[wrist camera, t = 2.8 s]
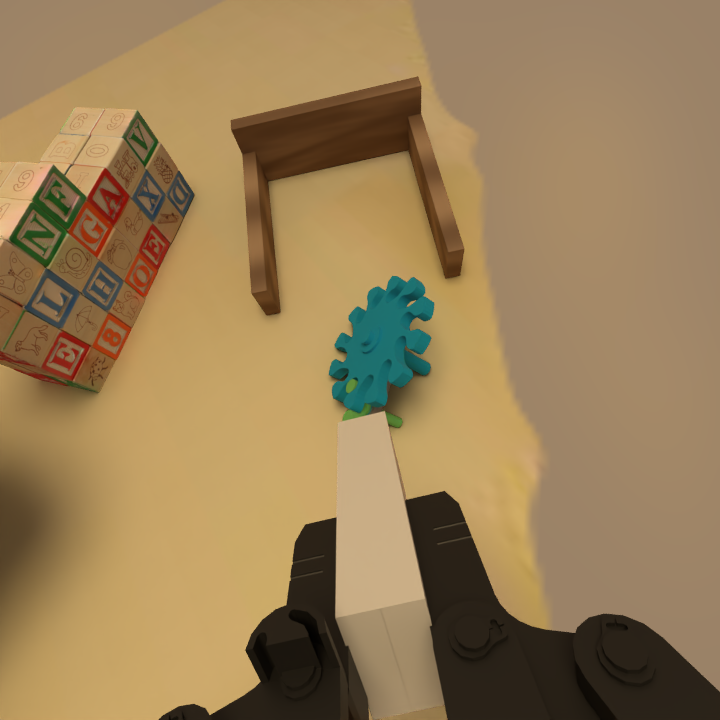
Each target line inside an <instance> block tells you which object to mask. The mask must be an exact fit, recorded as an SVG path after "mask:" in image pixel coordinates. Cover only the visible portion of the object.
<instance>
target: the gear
mask: <svg viewBox="0 0 720 720" xmlns="http://www.w3.org/2000/svg"><path fill="white" fill-rule="evenodd" d="M424 294H425V287H424V285H423V284H422V283H421V282H420V281H418V280H417V279H415V278H414V277H412V278H411V279H410V280H409V281H408V282H405V281H404V280H402V279H401V278H399V277H397V276H392V277H391V279H390V280H389V282H388V285H387V289H386V291H385V290H383V289H382V288H380V287H379V286H378V287H375V288H373V289H371V290H370V291H369V293H368V296H367V299H368V305H367V310H366V311H365V310H363V309H361V308H360V307H358V306H357V307H356V308H355V309H354V310H353V311H352V312H351V314H350V315H349V321H350V322H351V323H352V324H353V336H352V337H350V336H348V335H347V334H345V333H341V334H340V336H339V337H338V339H337V341H336V343H335V347H336V348H337V349H339V350H341V351H343V352H347V358H346V360H345V361H344V362H341V361H339V360H337V359H335V360H333V361H332V363H331V366H330V370H329V375H330V376H332V377H334V378H337V379H341V378H342V377H344V376H345V375H346V374H348V376H347V378H346V379H345V380H344V381H343V382H341V381H337V382H336V383H335V384H334V385H333V387H332V395H333V398H334V399H336V400H338V401H341V402H343V403H344V405H345V407H347V408H348V409H350V410H347V411H346V412H345V414H344V416H343V421H345V420H350V419H354V418H358V417H362V416H366V415H370V414H375V413H379V412H383V411H384V410H382V409H383V406H385V404H386V402H387V398H388V396H387V395H388V392H389V389H390V386H391V384H393V385H395V386H397V387H399V388H401V387H403V386H404V385H406V384H407V383H408V382H409V381H410V380H411V379H412V378H413V372H412V370H414V371H416V372H418V373H419V374H421V375H426V374H428V373H429V371H430V368H431V365H430V364H429V363H428V362H426V361H424V360H422V359H421V358H419V357H417V356H415V355H414V354H412V353H410V352H408V351H406V350H405V346H406V345H407V348H408V349H410V350H412V351H414V352H416V353H417V354H420V355H421V354H423V353H424V351H425V350H426V348H427V347H428V345H429V343H430V340H431V336H430V335H428V334H426V333H425V332H423V331H421V330H420V329H416V330H412V331H410V329H409V327H410V324H411V322H412V320H413V319H415V318H416V317H418V318H419V319H421V320H423V321H428V320H430V319H431V318H432V315H433V311H434V302H432V301H431V300H429V299H428V298H426V297H424V296H423V295H424ZM422 296H423V297H422ZM414 300H416V301H415V302H414V303H413V304H412V305H410V306H409V307H407V305H408V304H409V303H410V302H411V301H414ZM411 369H412V370H411ZM352 410H353V411H352ZM354 411H355V412H354ZM385 414H386V418H387V422H388V424H390V425H392V426H394V427H397V428H399V427H400V426H401V424H402V419H401V418H399V417H397V416H395V415H393V414H390V413H388V412H386V411H385Z"/></svg>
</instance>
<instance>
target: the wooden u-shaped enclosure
mask: <svg viewBox="0 0 720 720" xmlns="http://www.w3.org/2000/svg"><path fill="white" fill-rule="evenodd" d="M231 130H232V133H233V135H234V137H235V139H236V141H237V143H238V146H239V148H240V150H241V152H242V155H243V170H244V185H245V201H246V216H247V231H248V247H249V262H250V278H251V293H252V295H253V296H254V298H255V299H256V301H257V302H258V304H259V305H260V306H261V308H262V309H263V311H264V312H265V314H266V315H270V314H275V313H280V302H279V292H278V281H277V271H276V261H275V250H274V240H273V229H272V219H271V208H270V198H269V187H268V181H271V180H275V179H280V178H284V177H289V176H293V175H298V174H302V173H306V172H311V171H315V170H320V169H324V168H329V167H333V166H338V165H342V164H347V163H351V162H356V161H360V160H365V159H369V158H373V157H378V156H382V155H387V154H391V153H396V152H400V151H405V150H409V154H410V157H411V161H412V164H413V167H414V171H415V174H416V178H417V181H418V185H419V188H420V192H421V195H422V199H423V202H424V206H425V209H426V213H427V216H428V220H429V223H430V226H431V230H432V233H433V237H434V240H435V244H436V247H437V251H438V254H439V258H440V261H441V265H442V268H443V272H444V275H445V278H450V277H455V276H459V275H460V272H461V266H462V260H463V254H464V246H463V243H462V240H461V237H460V234H459V230H458V227H457V224H456V221H455V218H454V215H453V212H452V209H451V206H450V202H449V199H448V196H447V193H446V190H445V187H444V184H443V181H442V177H441V174H440V171H439V168H438V165H437V162H436V159H435V156H434V153H433V149H432V146H431V143H430V140H429V137H428V134H427V131H426V128H425V124H424V121H423V118H422V115H421V84H420V81H419V78H418V77H414V78H410V79H406V80H401V81H397V82H393V83H389V84H384V85H380V86H376V87H371V88H367V89H363V90H359V91H354V92H350V93H346V94H341V95H337V96H333V97H329V98H324V99H320V100H316V101H311V102H307V103H303V104H299V105H294V106H290V107H286V108H281V109H277V110H273V111H268V112H264V113H260V114H256V115H251V116H247V117H243V118H238V119H234V120H231Z"/></svg>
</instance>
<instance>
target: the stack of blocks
mask: <svg viewBox="0 0 720 720" xmlns="http://www.w3.org/2000/svg"><path fill="white" fill-rule="evenodd" d="M193 196H194V193H193V191H192V190H191V188H190V187H189V185H188V184H187V182H186V181H185V179H184V177H183V176H182V174H181V173H180V171H179V170H178V168H177V166H176V165H175V163H174V162H173V160H172V159H171V157H170V156H169V154H168V153H167V151H166V150H165V148H164V147H163V145H162V144H161V143H160V142H158V140H157V138H156V137H155V135H154V134H153V132H152V131H151V129H150V128H149V126H148V125H147V123H146V122H145V120H144V119H143V118H142V116H141V115H140V113H139V112H138V110H126V109H111V108H107V109H98V108H80V107H75V108H74V109H73V111H72V113H71V115H70V116H69V118H68V119H67V121H66V122H65V124H64V125H63V127H62V128H61V130H60V134H57V135H56V136H55V138H54V139H53V141H52V142H51V144H50V146H49V147H48V149H47V150H46V152H45V153H44V155H43V156H42V158H41V160H40V162H39V163H28V162H16V163H15V162H2V161H0V364H1V365H4V366H7V367H10V368H12V369H14V370H16V371H19V372H21V373H24V374H27V375H29V376H32V377H34V378H37V379H39V380H43V381H48V382H52V383H56V384H61V385H65V386H72V387H77V388H81V389H85V390H89V391H94V392H98V393H99V392H100V391H101V389H102V387H103V385H104V383H105V381H106V379H107V377H108V375H109V373H110V370H111V368H112V366H113V364H114V362H115V360H116V359H117V358H118V356H119V354H120V352H121V350H122V348H123V346H124V343H125V341H126V339H127V337H128V335H129V333H130V331H131V328H132V327H133V325H134V323H135V321H136V319H137V317H138V315H139V313H140V311H141V308H142V306H143V304H144V302H145V297H146V295H147V294H148V291H149V289H150V286H151V285H152V283H153V280H154V278H155V276H156V274H157V270H158V269H159V267H160V264H161V263H162V261H163V258H164V256H165V254H166V252H167V250H168V248H169V245H170V243H172V241H173V239H174V237H175V235H176V232H177V230H178V228H179V226H180V224H181V222H182V220H183V217H184V216H185V214H186V211H187V210H188V207H189V205H190V203H191V201H192V199H193Z"/></svg>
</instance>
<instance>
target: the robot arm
mask: <svg viewBox="0 0 720 720" xmlns="http://www.w3.org/2000/svg"><path fill="white" fill-rule="evenodd" d="M290 577H291V581H290V583H289V591H288V598H287V605H286V606H283V607H281V608H278V609H276V610H274V611H273V612H272V613H271V614H269V615H268V616H267V617H265V618H264V619H263V620H262V621H261V622H260V624H259V625H258V626H257V628H256V629H255V630H254V632H253V633H252V634H251V637H250V639H249V642H248V645H247V647H246V650H245V651H246V653H247V655H248V657H249V659H250V661H251V663H252V665H253V667H254V669H255V671H256V673H257V675H258V677H259V679H260V681H261V682H260V683H259V684H258V685H257V686H256V687H255V688H254V689H252V690H251V691H249V692H248V693H247V694H245V695H244V696H242V697H240V698H239V699H237V700H235V701H234V702H232V703H230V704H228V705H227V706H225V707H223V708H222V709H220V710H218V711H216V712H215V713H213V714H211V715H209V713H208V712H207V710H206V709H205V708H203V707H200V706H198V705H195V704H190V705H184V706H179V707H177V708H175V709H173V710H172V711H170V712H168V713H166V714H165V715H163V716H162V717H161V718H160V719H159V720H369V712H368V707H369V710H370V712H371V715H372V718H373V720H376V719H381V718H386V717H390V716H395V715H400V714H405V713H410V712H414V711H419V710H424V709H429V708H434V707H439V706H443V705H445V708H446V713H447V718H448V720H720V692H719V691H718V690H717V689H716V688H715V687H714V686H713V685H712V684H711V683H710V682H709V681H708V680H707V679H706V678H704V677H703V676H702V675H701V674H700V673H699V672H698V671H697V670H696V669H695V668H694V667H693V666H692V665H691V664H690V663H689V662H687V661H686V659H684V658H683V657H682V656H681V655H680V654H679V653H678V652H677V651H676V650H675V649H674V648H673V647H672V646H671V645H670V644H669V643H668V642H667V641H666V640H665V639H663V638H662V637H661V636H660V635H659V634H657V633H656V632H654V631H653V630H652V629H650V628H649V627H648V626H646V625H645V624H643V623H641V622H638V621H636V620H633V619H631V618H628V617H626V616H623V615H613V614H601V615H597V616H593V617H590V618H588V619H587V620H585V621H584V622H583V623H582V624H581V625H580V626H579V627H577V630H576V633H569V632H561V631H552V630H545V629H540V628H536V627H532V626H529V625H527V624H525V623H523V622H520V621H519V620H517V619H516V618H514V617H513V616H512V615H510V614H509V613H508V612H507V611H506V610H505V609H504V608H503V607H502V606H501V605H500V603H499V601H498V599H497V598H496V596H495V594H494V591H493V589H492V586H491V584H490V581H489V579H488V576H487V574H486V571H485V569H484V566H483V563H482V561H481V558H480V556H479V553H478V551H477V548H476V546H475V543H474V541H473V538H472V536H471V533H470V531H469V528H468V526H467V524H466V521H465V518H464V516H463V513H462V511H461V508H460V506H459V503H458V502H456V501H455V500H454V499H453V498H452V497H451V496H450V495H448V494H447V493H446V492H445V491H443V492H439V493H434V494H430V495H426V496H421V497H417V498H413V499H408V500H407V499H406V495H405V490H404V486H403V481H402V477H401V473H400V469H399V465H398V461H397V457H396V454H395V450H394V446H393V442H392V438H391V434H390V430H389V426H388V422H387V418H386V414H385V411H383V412H379V413H375V414H370V415H366V416H362V417H358V418H354V419H350V420H345V421H341V422H338V451H337V517H336V518H332V519H327V520H323V521H319V522H314V523H310V524H306V525H305V526H304V528H303V529H302V531H301V533H300V535H299V536H298V538H297V540H296V542H295V546H294V554H293V565H292V569H291V576H290Z"/></svg>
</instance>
